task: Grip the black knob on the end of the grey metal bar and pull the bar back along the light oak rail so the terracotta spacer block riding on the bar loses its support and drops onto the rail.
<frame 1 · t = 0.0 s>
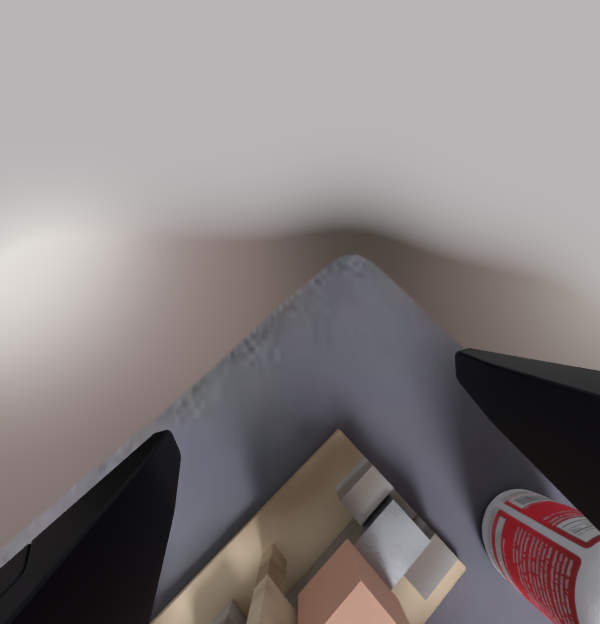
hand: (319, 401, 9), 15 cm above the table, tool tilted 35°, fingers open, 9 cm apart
rail: (286, 617, 20), on the table
spacer: (347, 596, 17), point 4 cm above the table, touching grey metal bar
pill bottle: (519, 533, 21), on the table
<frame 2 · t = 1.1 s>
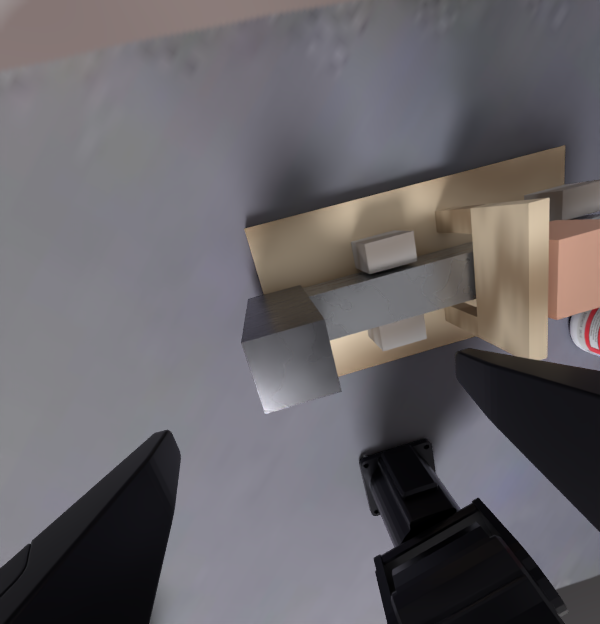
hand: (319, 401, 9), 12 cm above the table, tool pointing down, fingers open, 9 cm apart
rail: (414, 273, 22), on the table
spacer: (524, 261, 18), point 4 cm above the table, touching grey metal bar
pill bottle: (596, 315, 25), on the table
grey metal bar: (449, 290, 16), point 5 cm above the table, slide at 0.0 cm, touching spacer
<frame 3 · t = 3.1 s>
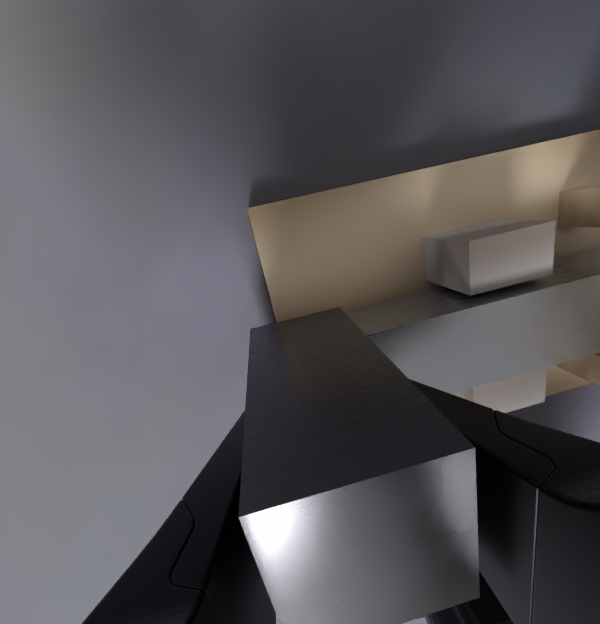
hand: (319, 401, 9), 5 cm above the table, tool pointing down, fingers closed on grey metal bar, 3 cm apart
rail: (508, 289, 14), on the table
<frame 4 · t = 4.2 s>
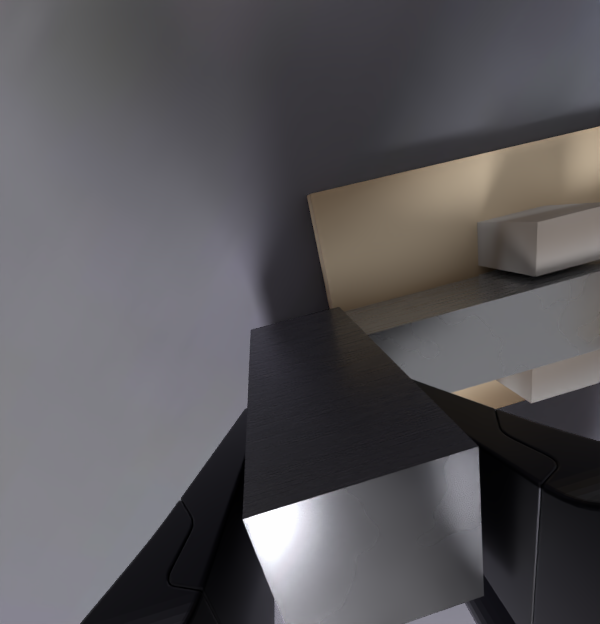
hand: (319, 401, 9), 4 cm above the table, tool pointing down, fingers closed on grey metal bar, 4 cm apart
rail: (553, 275, 14), on the table
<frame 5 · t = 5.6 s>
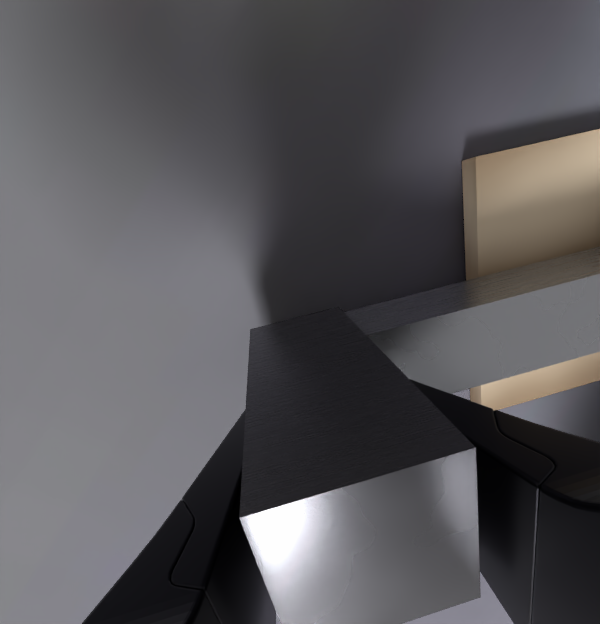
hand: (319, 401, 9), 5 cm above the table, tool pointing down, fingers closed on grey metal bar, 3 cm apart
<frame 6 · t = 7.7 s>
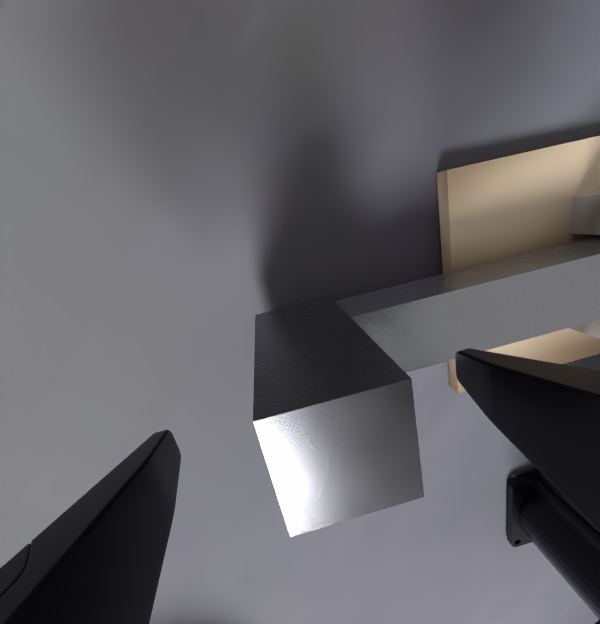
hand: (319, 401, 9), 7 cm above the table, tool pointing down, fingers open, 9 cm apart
grey metal bar: (561, 314, 11), point 5 cm above the table, slide at 8.9 cm
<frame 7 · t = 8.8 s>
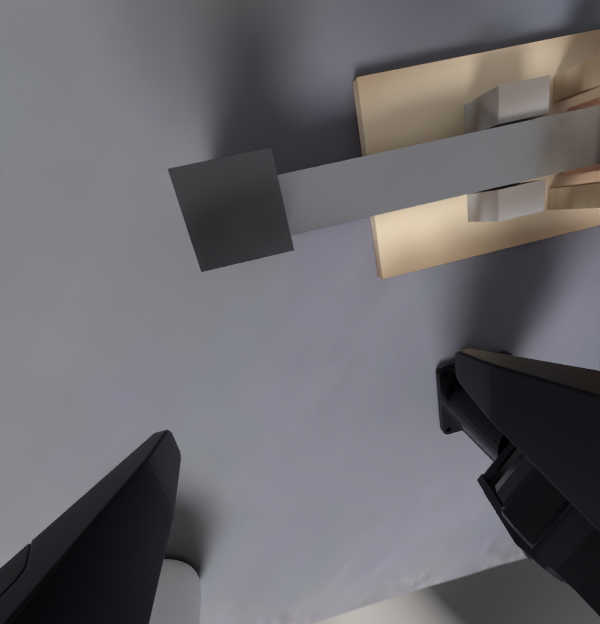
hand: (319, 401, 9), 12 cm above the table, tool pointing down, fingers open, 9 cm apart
rail: (519, 155, 20), on the table
spacer: (589, 137, 19), point 1 cm above the table, tilted 6°, touching rail
cup: (151, 580, 27), on the table
grey metal bar: (429, 172, 14), point 5 cm above the table, slide at 8.9 cm
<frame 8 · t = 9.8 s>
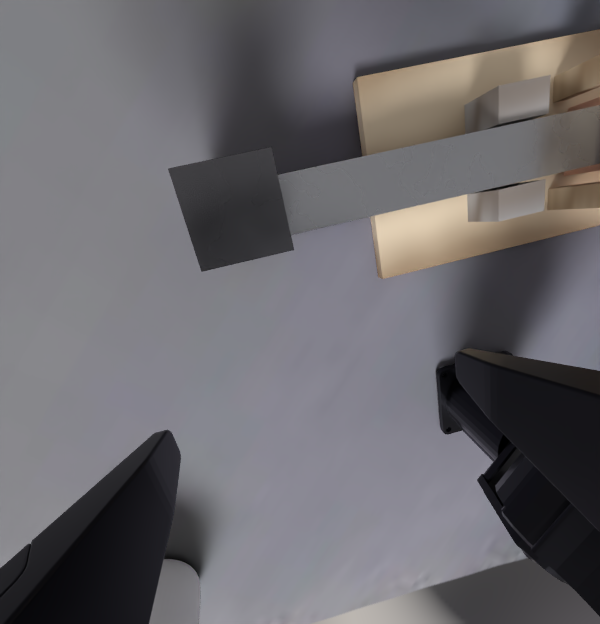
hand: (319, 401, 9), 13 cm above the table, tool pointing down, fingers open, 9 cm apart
rail: (519, 155, 20), on the table
spacer: (589, 138, 19), point 1 cm above the table, tilted 6°, touching rail
cup: (151, 580, 27), on the table
grey metal bar: (429, 172, 15), point 5 cm above the table, slide at 8.9 cm
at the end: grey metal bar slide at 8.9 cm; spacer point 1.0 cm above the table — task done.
